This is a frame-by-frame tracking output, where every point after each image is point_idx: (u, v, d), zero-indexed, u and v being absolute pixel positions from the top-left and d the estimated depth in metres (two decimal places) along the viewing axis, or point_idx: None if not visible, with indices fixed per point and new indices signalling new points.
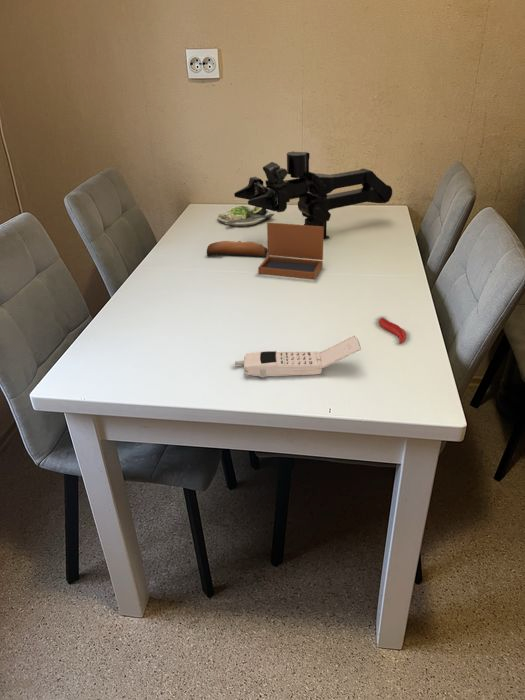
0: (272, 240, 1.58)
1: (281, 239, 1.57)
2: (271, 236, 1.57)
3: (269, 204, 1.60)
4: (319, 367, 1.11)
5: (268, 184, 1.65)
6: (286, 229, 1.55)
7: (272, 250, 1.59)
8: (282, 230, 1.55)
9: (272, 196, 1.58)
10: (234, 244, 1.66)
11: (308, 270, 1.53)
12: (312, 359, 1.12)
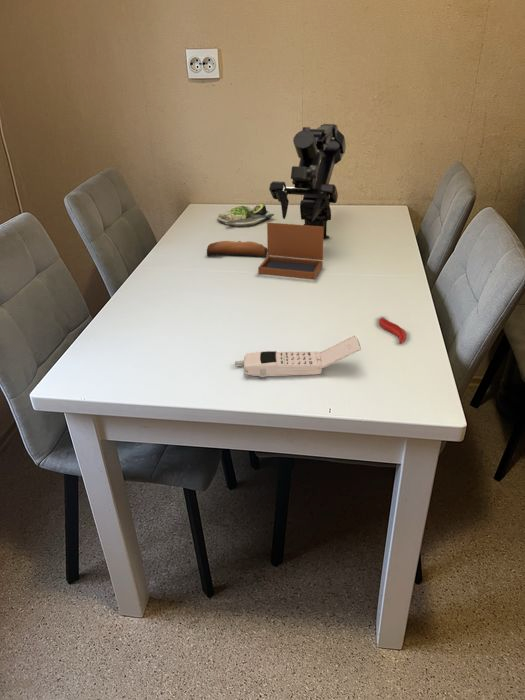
0: (272, 240, 1.58)
1: (281, 239, 1.57)
2: (271, 236, 1.57)
3: (322, 203, 1.57)
4: (319, 367, 1.11)
5: (299, 184, 1.56)
6: (286, 229, 1.55)
7: (272, 250, 1.59)
8: (282, 230, 1.55)
9: (324, 197, 1.54)
10: (234, 244, 1.66)
11: (308, 270, 1.53)
12: (312, 359, 1.12)
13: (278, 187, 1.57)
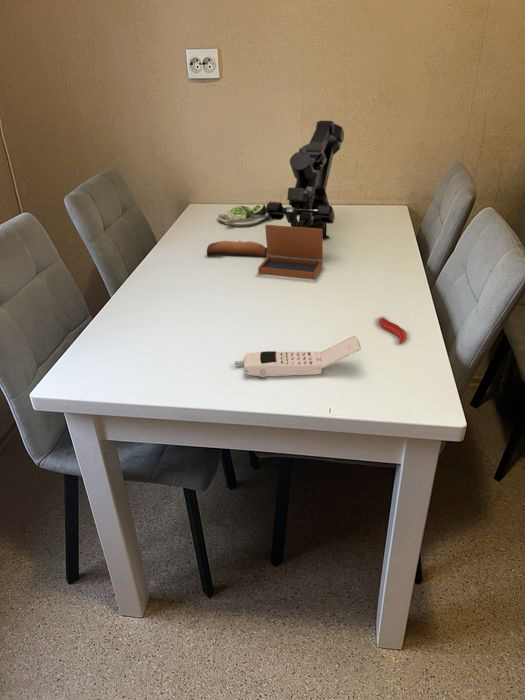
0: (271, 241, 1.57)
1: (280, 240, 1.56)
2: (270, 237, 1.56)
3: (305, 223, 1.57)
4: (319, 367, 1.11)
5: (295, 204, 1.56)
6: (284, 231, 1.54)
7: (272, 251, 1.59)
8: (281, 232, 1.54)
9: (307, 217, 1.55)
10: (234, 244, 1.66)
11: (308, 270, 1.53)
12: (312, 359, 1.12)
13: (275, 208, 1.56)
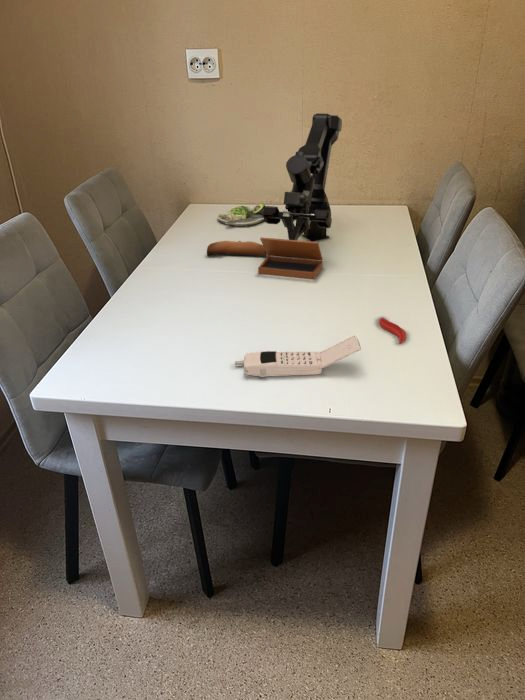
0: (269, 248, 1.56)
1: (278, 248, 1.55)
2: (267, 246, 1.55)
3: (302, 227, 1.54)
4: (319, 367, 1.11)
5: (292, 209, 1.53)
6: (280, 243, 1.52)
7: (271, 253, 1.59)
8: (277, 243, 1.52)
9: (304, 222, 1.52)
10: (234, 244, 1.66)
11: (308, 270, 1.53)
12: (312, 359, 1.12)
13: (271, 212, 1.53)
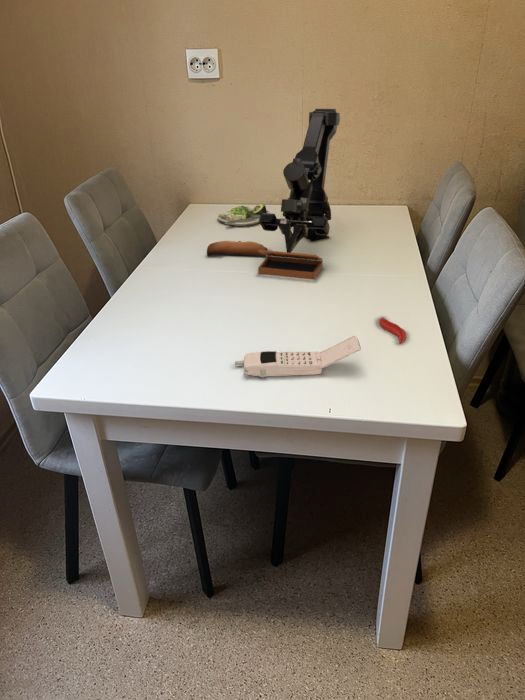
0: (268, 254, 1.56)
1: (277, 254, 1.55)
2: (266, 253, 1.55)
3: (299, 235, 1.53)
4: (319, 367, 1.11)
5: (289, 216, 1.51)
6: (278, 253, 1.51)
7: (271, 255, 1.59)
8: (275, 253, 1.52)
9: (301, 229, 1.51)
10: (234, 244, 1.66)
11: (308, 270, 1.53)
12: (312, 359, 1.12)
13: (268, 219, 1.52)
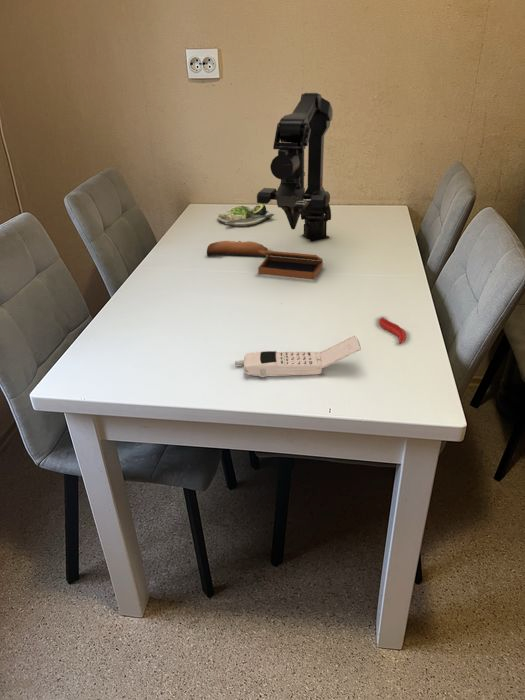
0: (268, 254, 1.56)
1: None
2: (266, 253, 1.55)
3: None
4: (319, 367, 1.11)
5: None
6: (278, 254, 1.51)
7: (271, 255, 1.59)
8: (275, 253, 1.52)
9: None
10: (234, 244, 1.66)
11: (308, 270, 1.53)
12: (312, 359, 1.12)
13: (266, 202, 1.48)
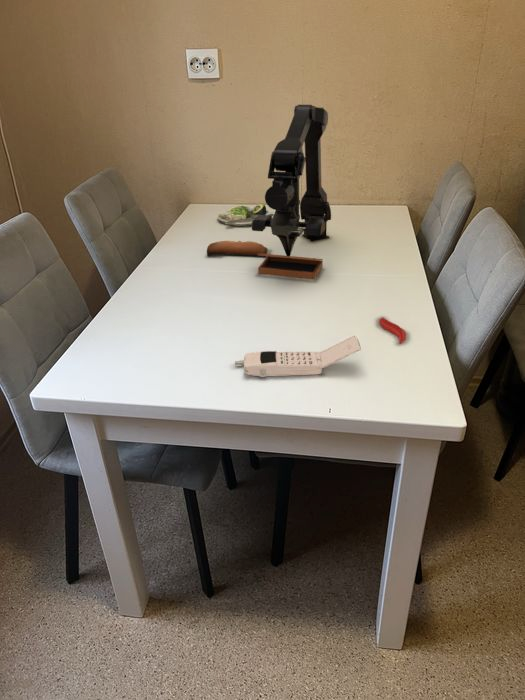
0: None
1: None
2: None
3: None
4: (319, 367, 1.11)
5: None
6: None
7: None
8: None
9: None
10: (234, 244, 1.66)
11: (308, 270, 1.53)
12: (312, 359, 1.12)
13: (261, 230, 1.47)
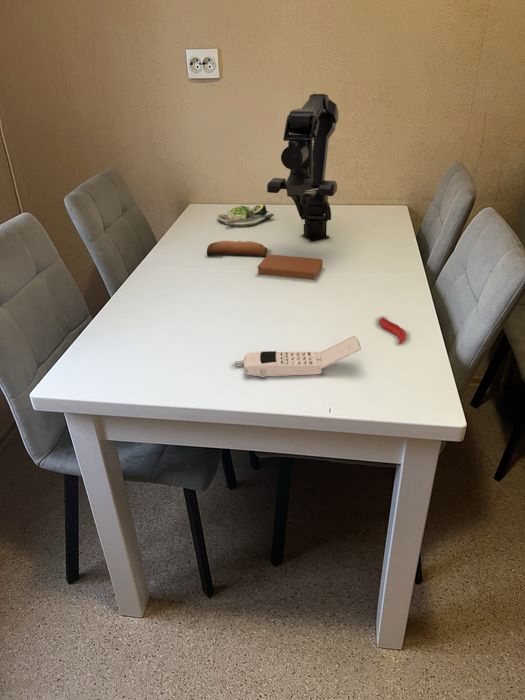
0: None
1: None
2: None
3: None
4: (319, 367, 1.11)
5: None
6: None
7: None
8: None
9: None
10: (234, 244, 1.66)
11: None
12: (312, 359, 1.12)
13: (276, 191, 1.55)
